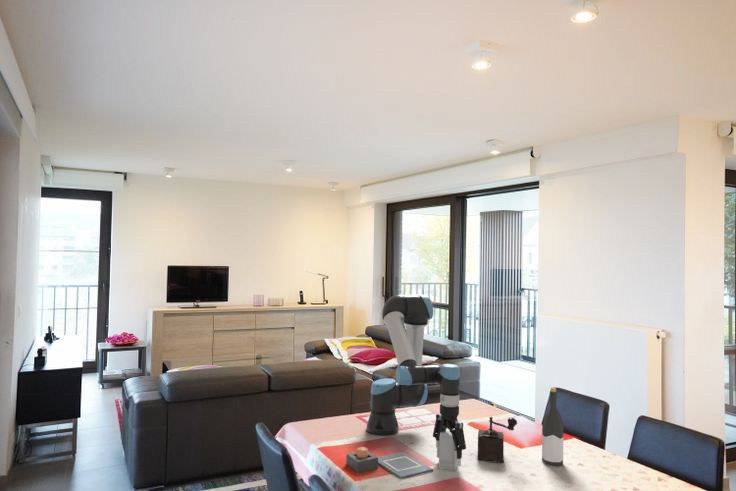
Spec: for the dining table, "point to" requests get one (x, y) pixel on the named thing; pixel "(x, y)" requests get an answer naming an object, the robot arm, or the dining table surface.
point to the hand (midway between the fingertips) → (448, 461)
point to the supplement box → (446, 451)
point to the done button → (362, 453)
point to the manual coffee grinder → (493, 442)
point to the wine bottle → (552, 434)
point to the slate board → (403, 465)
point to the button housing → (362, 462)
